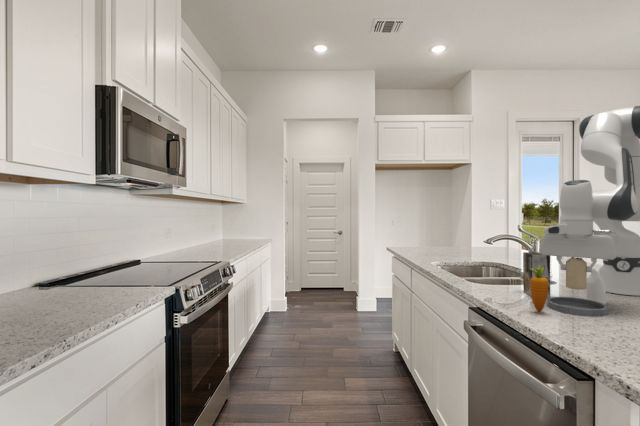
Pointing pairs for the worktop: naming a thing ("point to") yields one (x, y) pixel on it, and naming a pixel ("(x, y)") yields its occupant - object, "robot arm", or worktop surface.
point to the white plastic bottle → (596, 288)
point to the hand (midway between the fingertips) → (576, 270)
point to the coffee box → (532, 262)
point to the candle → (576, 273)
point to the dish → (577, 306)
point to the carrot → (539, 289)
